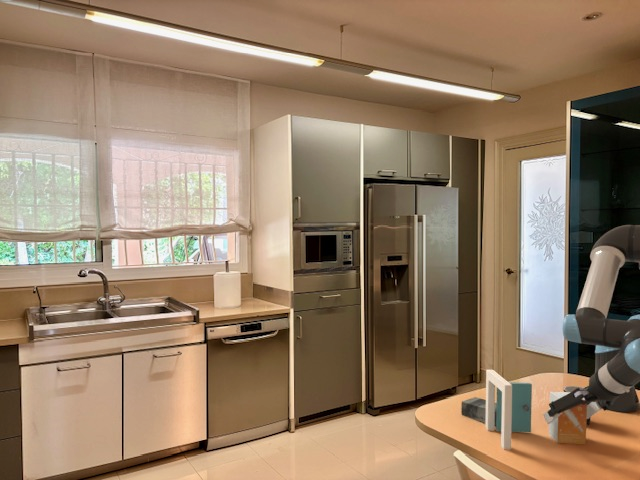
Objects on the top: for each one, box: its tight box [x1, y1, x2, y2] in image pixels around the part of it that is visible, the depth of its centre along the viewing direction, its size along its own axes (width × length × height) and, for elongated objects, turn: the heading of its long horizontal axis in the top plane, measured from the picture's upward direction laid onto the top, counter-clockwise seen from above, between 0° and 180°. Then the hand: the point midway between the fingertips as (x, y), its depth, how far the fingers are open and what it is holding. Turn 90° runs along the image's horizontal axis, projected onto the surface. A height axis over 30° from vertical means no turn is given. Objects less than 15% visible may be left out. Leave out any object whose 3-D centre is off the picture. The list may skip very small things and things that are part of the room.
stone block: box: [460, 396, 497, 428], centre depth 155 cm, size 9×14×5 cm, turn 39°
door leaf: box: [495, 381, 533, 433], centre depth 144 cm, size 2×10×14 cm, turn 85°
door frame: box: [484, 369, 512, 451], centre depth 141 cm, size 2×14×18 cm, turn 0°
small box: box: [548, 391, 587, 445], centre depth 140 cm, size 8×6×13 cm
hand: (565, 416), depth 140 cm, fingers open, 13 cm apart
